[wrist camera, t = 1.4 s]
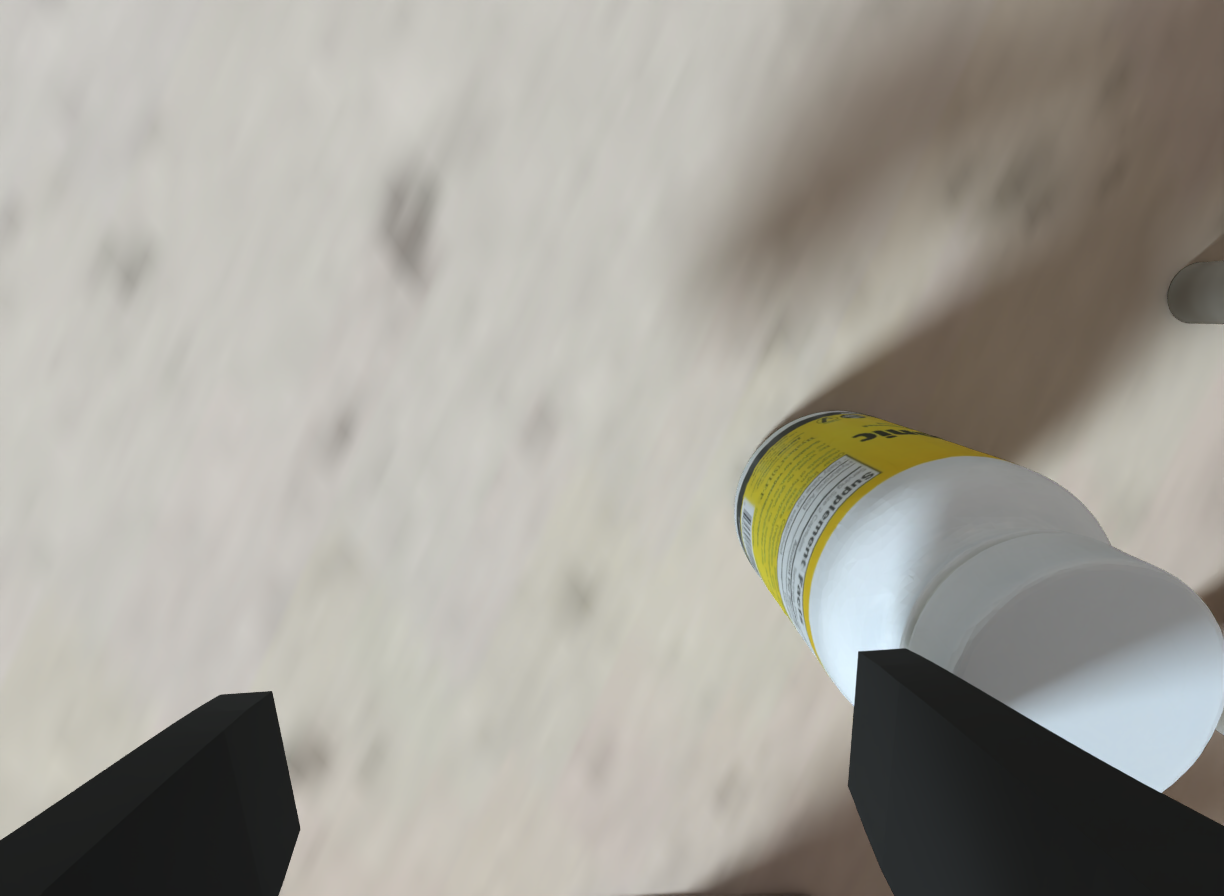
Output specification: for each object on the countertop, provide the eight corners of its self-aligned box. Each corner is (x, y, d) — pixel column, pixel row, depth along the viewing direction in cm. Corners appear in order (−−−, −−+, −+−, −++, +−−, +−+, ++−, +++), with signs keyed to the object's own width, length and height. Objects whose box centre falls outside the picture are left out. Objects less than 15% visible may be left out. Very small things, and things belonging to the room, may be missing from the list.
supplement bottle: (958, 470, 18) (1367, 643, 9) (844, 623, 19) (1107, 934, 10) (803, 367, 18) (1069, 434, 8) (692, 532, 18) (812, 770, 9)
